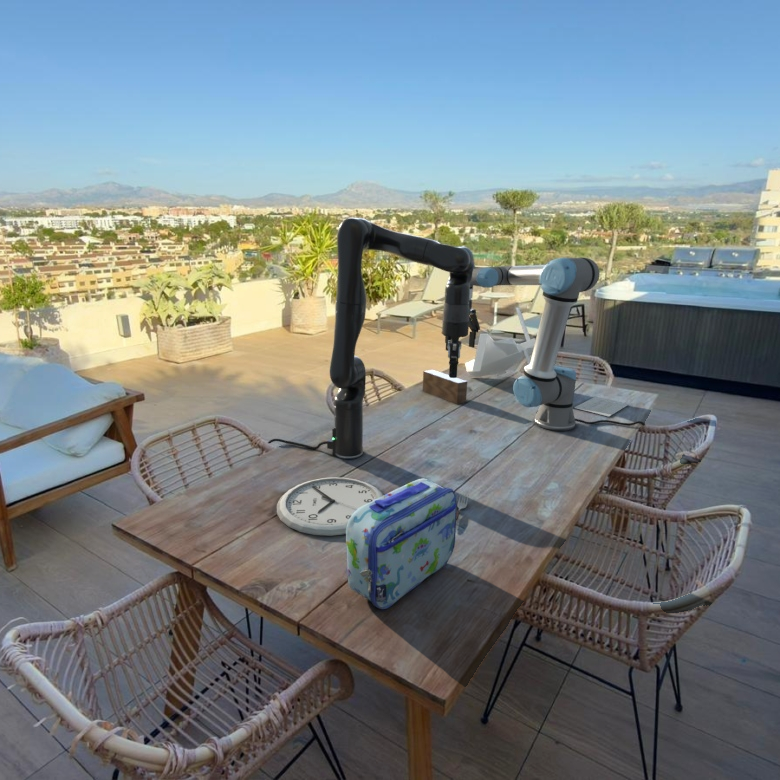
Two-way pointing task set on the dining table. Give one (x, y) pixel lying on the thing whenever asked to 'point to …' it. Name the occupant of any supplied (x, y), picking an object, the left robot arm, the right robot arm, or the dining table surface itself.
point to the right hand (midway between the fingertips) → (460, 348)
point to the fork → (461, 506)
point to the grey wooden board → (601, 406)
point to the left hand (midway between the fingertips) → (452, 373)
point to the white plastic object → (499, 353)
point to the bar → (444, 386)
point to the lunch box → (400, 540)
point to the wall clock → (324, 504)
